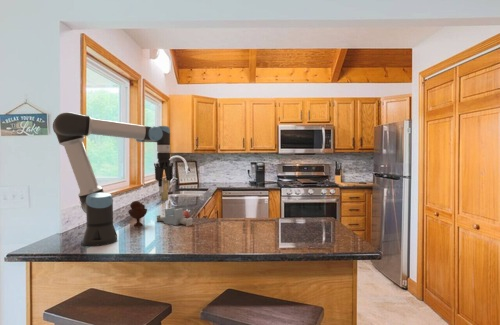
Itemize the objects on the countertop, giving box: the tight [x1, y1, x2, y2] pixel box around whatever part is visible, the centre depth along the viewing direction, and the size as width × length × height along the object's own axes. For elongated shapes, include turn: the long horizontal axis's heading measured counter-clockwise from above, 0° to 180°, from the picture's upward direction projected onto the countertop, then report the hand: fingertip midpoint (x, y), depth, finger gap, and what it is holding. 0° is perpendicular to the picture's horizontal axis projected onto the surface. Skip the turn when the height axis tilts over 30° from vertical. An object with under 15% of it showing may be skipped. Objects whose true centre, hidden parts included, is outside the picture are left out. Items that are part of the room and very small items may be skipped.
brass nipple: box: [160, 179, 169, 201], centre depth 181 cm, size 4×4×12 cm
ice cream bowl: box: [127, 200, 148, 227], centre depth 184 cm, size 11×11×15 cm
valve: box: [156, 206, 194, 227], centre depth 192 cm, size 15×26×9 cm, turn 59°
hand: (164, 191), depth 181 cm, fingers closed on brass nipple, 4 cm apart
